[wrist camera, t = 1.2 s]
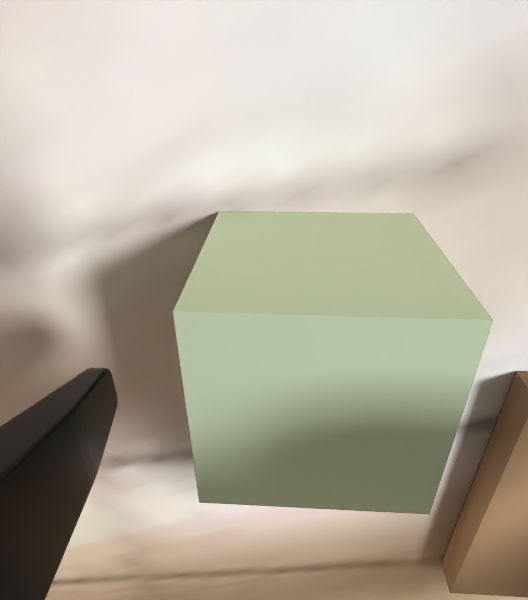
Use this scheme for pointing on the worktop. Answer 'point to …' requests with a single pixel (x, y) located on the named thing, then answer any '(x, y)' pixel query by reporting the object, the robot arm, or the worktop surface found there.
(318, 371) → the sage cube
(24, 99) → the worktop surface
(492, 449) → the walnut board
